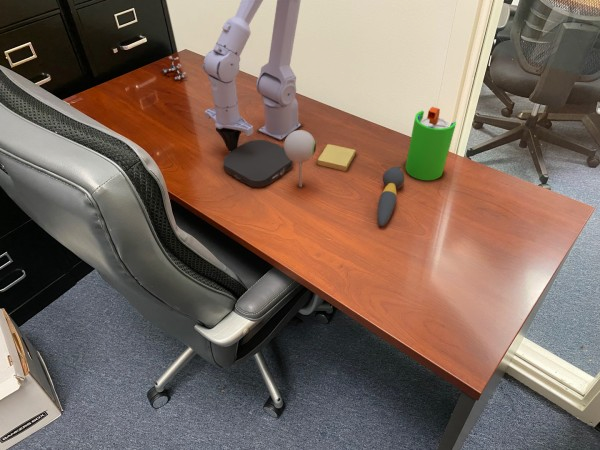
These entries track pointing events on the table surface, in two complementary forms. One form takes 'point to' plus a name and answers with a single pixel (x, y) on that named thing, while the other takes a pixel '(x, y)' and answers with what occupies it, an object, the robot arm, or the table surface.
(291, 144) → the lollipop
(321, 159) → the sticky note pad
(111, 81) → the table surface
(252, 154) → the media streaming box
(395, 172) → the grey microphone
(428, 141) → the green upright cylinder
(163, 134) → the table surface
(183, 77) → the molecule model
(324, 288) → the table surface
